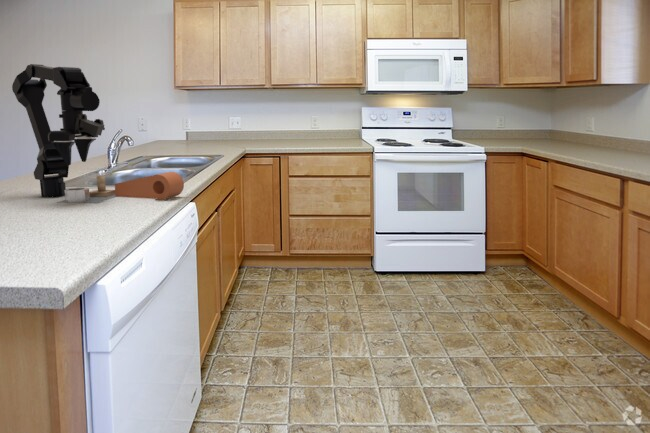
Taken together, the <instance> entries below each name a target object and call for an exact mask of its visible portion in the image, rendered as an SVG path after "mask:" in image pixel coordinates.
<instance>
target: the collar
mask: <svg viewBox="0 0 650 433" xmlns="http://www.w3.org/2000/svg"><path fill="white" fill-rule="evenodd" d="M89 192H90V188H89V187H70V188H66V189H65V196H64V200H65V201H66V202H84V201H88V200H90V194H89Z"/></svg>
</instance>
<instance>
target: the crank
mask: <svg viewBox="0 0 650 433" xmlns="http://www.w3.org/2000/svg"><path fill="white" fill-rule="evenodd" d="M184 186H185V185H184V180H183V177H182V176H181V175H180V174H179V173H178V172H175V171H168V172H163V173H159V174H154V175H149V176H144V177H141V178H135V179H130V180H127V181H126V180H125V181H122V182H118V183H114V190H115V196H117V197H121V198H122V197H123V198H138V199H139V198H140V199H141V198H142V199H143V198H144V199H154V200H155V201H163V200H167V199H170V198H173V197H174V198H175V197H178V196H179V195H181V193H182V192H184V191H183V190H184Z"/></svg>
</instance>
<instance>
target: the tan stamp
mask: <svg viewBox="0 0 650 433" xmlns="http://www.w3.org/2000/svg"><path fill="white" fill-rule="evenodd" d="M105 175H106V174H105ZM105 175H104V174H99V175H96V184H97V189H95V190H92V191H89V194H90V197H109V196H112V195H115V189H106V188H107V186H106V176H105Z"/></svg>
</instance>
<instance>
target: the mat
mask: <svg viewBox="0 0 650 433" xmlns="http://www.w3.org/2000/svg"><path fill="white" fill-rule="evenodd" d="M117 197H118V196H115V195H112V196H109V197H90V200H88V201H84V202H66V201H65V199H64V200H61V201H57V202H56V203H59V204H62V203H63V204H64V203H65V204H100V203H102V202H105V201H108V200H111V199H114V198H117Z"/></svg>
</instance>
